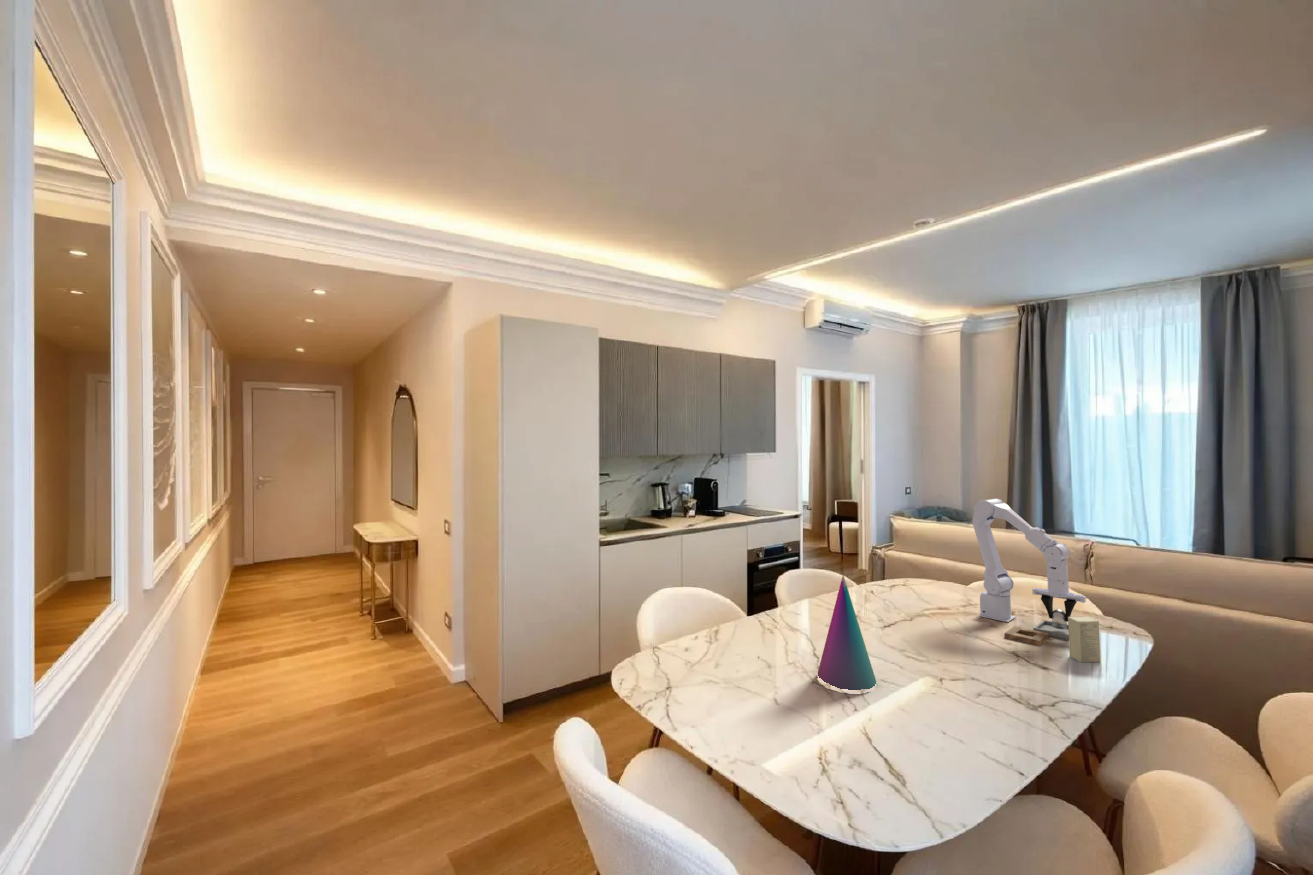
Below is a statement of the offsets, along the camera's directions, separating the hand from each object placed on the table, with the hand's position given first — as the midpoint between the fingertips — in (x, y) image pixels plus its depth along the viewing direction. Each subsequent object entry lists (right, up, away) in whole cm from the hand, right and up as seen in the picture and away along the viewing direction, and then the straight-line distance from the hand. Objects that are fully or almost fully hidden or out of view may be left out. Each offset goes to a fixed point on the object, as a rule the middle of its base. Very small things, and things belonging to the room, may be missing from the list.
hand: (1059, 619), depth 181 cm
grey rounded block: (0, -3, 0) cm, 3 cm away
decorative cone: (-85, -6, -33) cm, 91 cm away
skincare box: (-9, -5, -22) cm, 24 cm away
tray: (0, -5, 0) cm, 5 cm away
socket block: (-14, -5, -4) cm, 15 cm away
